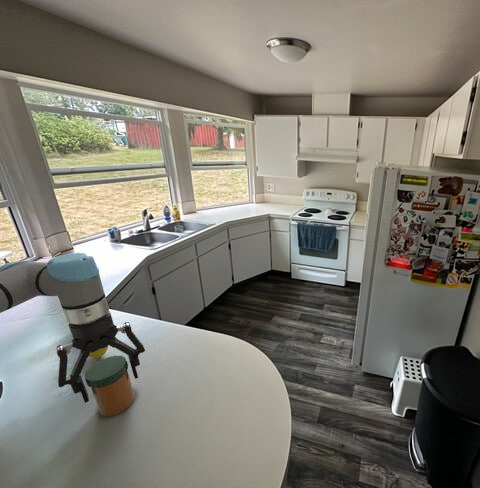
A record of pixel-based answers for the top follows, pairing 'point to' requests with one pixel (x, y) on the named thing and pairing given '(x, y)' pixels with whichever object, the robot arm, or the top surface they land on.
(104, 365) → the jar lid
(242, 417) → the top surface
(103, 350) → the lemon
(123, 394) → the jam jar
